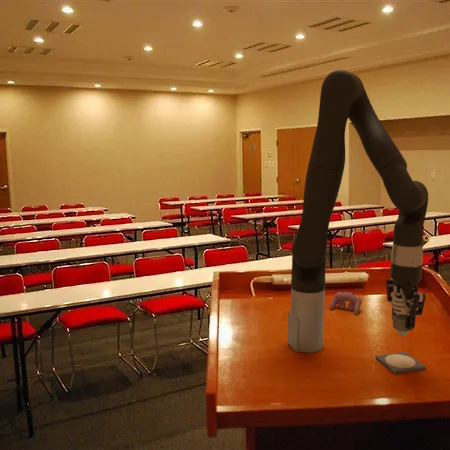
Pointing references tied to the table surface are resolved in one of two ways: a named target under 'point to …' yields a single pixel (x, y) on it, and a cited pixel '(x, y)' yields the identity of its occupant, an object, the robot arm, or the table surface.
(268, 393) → the table surface
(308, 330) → the robot arm
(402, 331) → the light bulb
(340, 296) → the video game controller
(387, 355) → the pad
